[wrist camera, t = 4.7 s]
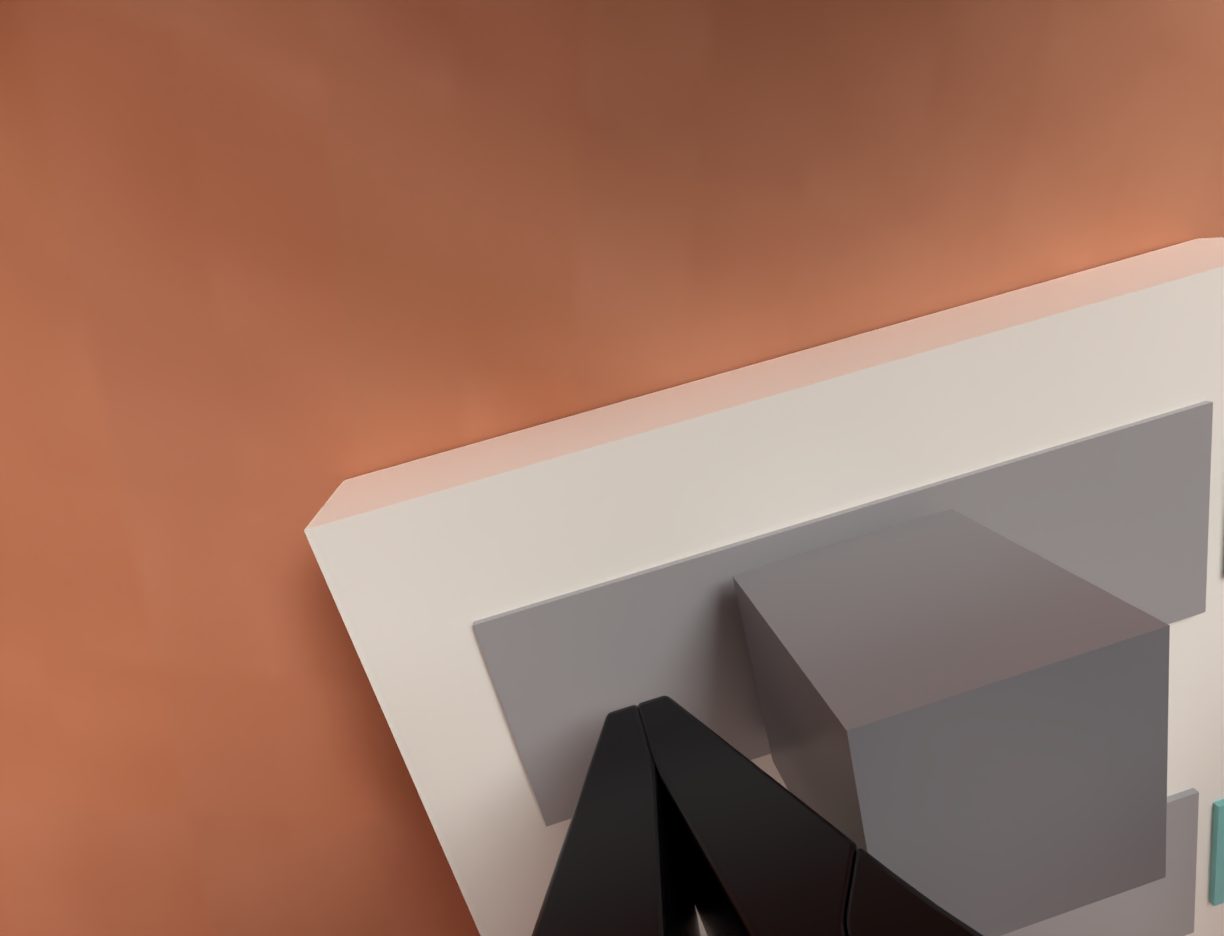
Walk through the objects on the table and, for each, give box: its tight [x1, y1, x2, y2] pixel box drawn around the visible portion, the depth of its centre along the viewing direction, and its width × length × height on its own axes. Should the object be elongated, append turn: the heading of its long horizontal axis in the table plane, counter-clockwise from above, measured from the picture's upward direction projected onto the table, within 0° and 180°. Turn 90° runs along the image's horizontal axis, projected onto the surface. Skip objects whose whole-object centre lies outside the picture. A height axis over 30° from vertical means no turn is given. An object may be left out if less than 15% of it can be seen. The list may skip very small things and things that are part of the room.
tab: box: [732, 509, 1170, 936], centre depth 8 cm, size 3×3×3 cm
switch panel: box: [304, 237, 1224, 936], centre depth 11 cm, size 14×14×2 cm
